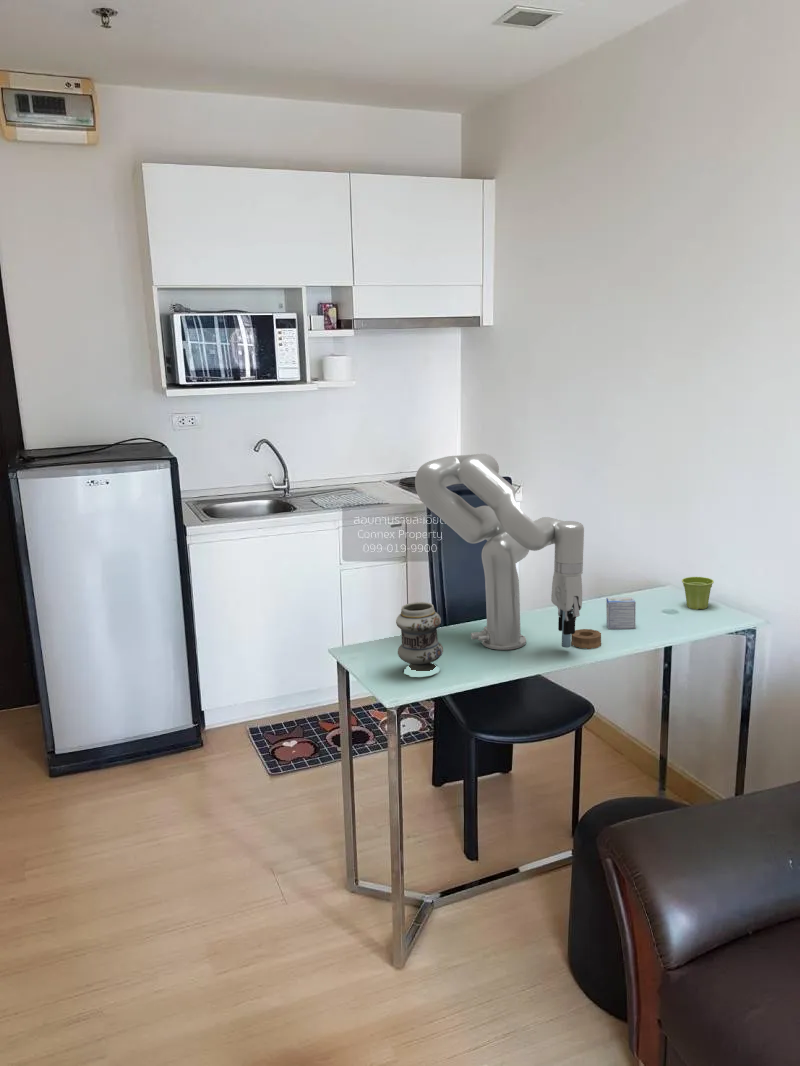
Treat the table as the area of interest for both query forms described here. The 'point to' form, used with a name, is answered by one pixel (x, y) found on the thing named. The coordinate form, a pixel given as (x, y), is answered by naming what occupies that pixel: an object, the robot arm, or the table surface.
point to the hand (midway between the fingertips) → (566, 631)
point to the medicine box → (621, 612)
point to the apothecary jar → (419, 635)
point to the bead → (586, 638)
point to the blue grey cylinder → (565, 638)
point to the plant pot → (697, 591)
